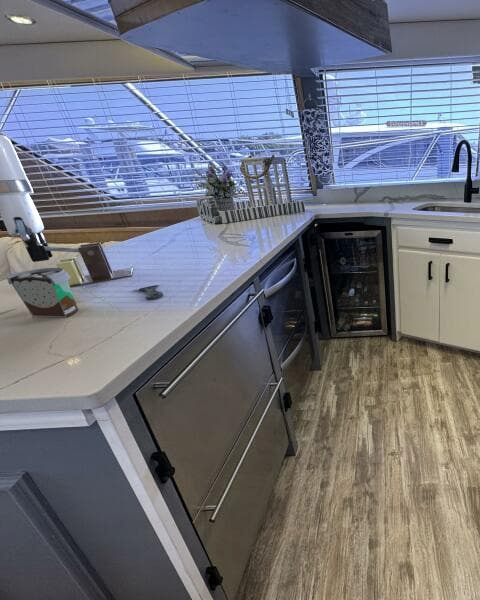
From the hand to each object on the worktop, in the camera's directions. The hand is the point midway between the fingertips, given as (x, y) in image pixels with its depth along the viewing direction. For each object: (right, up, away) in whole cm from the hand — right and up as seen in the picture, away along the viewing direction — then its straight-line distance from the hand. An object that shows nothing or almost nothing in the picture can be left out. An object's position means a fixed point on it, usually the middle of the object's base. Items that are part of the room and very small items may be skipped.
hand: (42, 258), depth 87 cm
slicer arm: (+4, +1, +2) cm, 4 cm away
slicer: (+9, -5, +9) cm, 14 cm away
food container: (+18, -14, -12) cm, 26 cm away
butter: (+4, -6, +5) cm, 9 cm away
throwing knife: (+29, -9, 0) cm, 30 cm away
